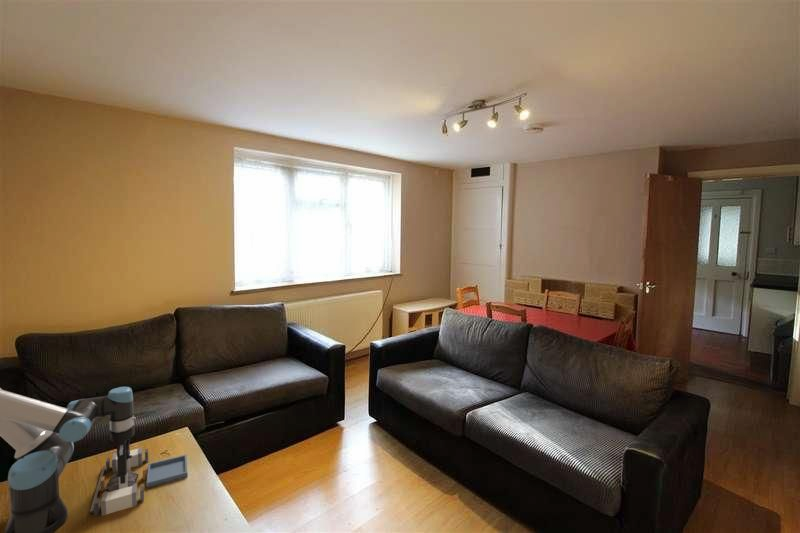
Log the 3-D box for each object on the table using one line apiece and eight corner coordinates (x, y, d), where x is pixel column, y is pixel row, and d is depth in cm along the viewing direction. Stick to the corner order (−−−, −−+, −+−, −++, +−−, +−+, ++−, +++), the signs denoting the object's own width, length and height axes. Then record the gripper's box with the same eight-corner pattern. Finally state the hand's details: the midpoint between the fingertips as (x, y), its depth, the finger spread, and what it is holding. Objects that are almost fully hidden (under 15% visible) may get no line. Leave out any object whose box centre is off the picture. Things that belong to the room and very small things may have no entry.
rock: (139, 486, 146) (138, 476, 146) (104, 496, 140) (103, 486, 140) (138, 473, 154) (138, 464, 153) (105, 483, 147) (104, 473, 147)
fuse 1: (112, 472, 154) (111, 459, 153) (114, 465, 159) (113, 453, 158) (141, 465, 159) (141, 453, 159) (142, 458, 164) (142, 446, 163)
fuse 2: (101, 516, 131) (100, 501, 130) (104, 506, 136) (103, 492, 135) (136, 505, 136) (136, 492, 136) (137, 496, 141) (137, 483, 140)
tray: (146, 488, 145) (146, 483, 145) (148, 468, 157) (148, 463, 157) (187, 476, 152) (187, 472, 152) (186, 458, 164) (186, 454, 164)
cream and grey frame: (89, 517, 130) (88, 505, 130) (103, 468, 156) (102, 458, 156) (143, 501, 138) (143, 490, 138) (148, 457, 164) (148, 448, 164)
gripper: (131, 438, 138) (134, 496, 140) (136, 413, 156) (138, 464, 158) (105, 444, 134) (108, 503, 136) (114, 417, 152) (116, 470, 154)
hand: (124, 482), depth 147 cm, fingers closed on rock, 9 cm apart
